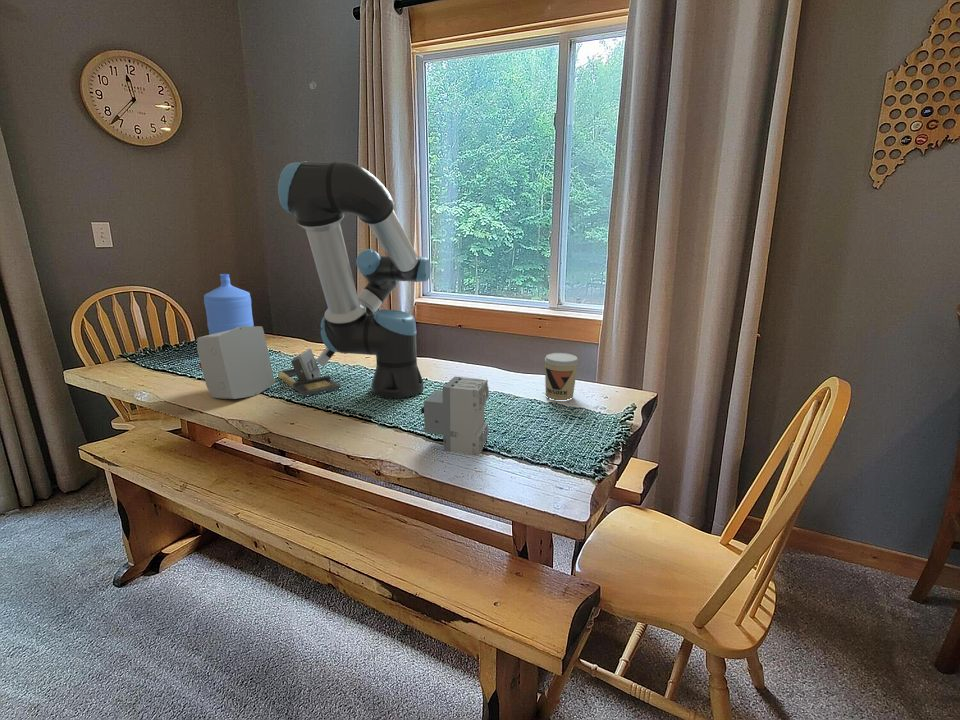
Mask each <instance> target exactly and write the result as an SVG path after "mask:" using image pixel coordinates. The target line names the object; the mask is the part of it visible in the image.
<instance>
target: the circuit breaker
mask: <svg viewBox="0 0 960 720" xmlns="http://www.w3.org/2000/svg"><path fill="white" fill-rule="evenodd" d="M488 381H489V380H488V379H482V378H475V377H474V378H473V377H467V376H465V377H464V376H453V378H451V379H450V380H449V381H448V382H446V383H445V384H444V385H443V386H442V389H436V390H434V392H433V393H431V394H430V395H429V396H428V397H427V398H426V399H425V400H424V401H423V407H421V409H420V410H421V412H420V414H422V415H423V420H424V421H423V422H424V423H423V425H424V428H423V429H424V433H425V434H427V433H428V434H434V435H439V436H440V435H441V436H442V437H443V438H442V440H443V442H442V446H443V447H442V449H443V451H446V452H451V453H452V452H453V453H459V454H464V455H465V454H466V455H472V456H473V455H476V456H479V455H480V454H481V453H482V451H483V449H484V448H483V444H484V442H486V440H488V437H489V423H488V422H486V421H485V405H486V404H487V400H488V399H489V397H490V396H489V395H490V394H489V391H490V390H489V386H488Z"/></svg>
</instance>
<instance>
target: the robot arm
mask: <svg viewBox="0 0 960 720" xmlns="http://www.w3.org/2000/svg"><path fill="white" fill-rule="evenodd" d="M277 193H278V198H279V203H280V205H281V207H282V209H283V210H284V211H285V212H286V213H289V214H294V216H295V219H296V220H295V221H296V223H297V226H300V228H303V229H305V232H306V235H307V239H308V242H309V245H310V249H311V252H312V257H313V260H314V264H315V268H316V271H317V274H318V279H319V281H320V282H319V283H320V285H321V289H322V292H323V295H324V300H325V302H326V305H327V309H326V310H325V311H324V315H323V317H322V318H321V322H320V336H321V340H322V343H323V344H324V346H325V348H324V349H323V350H322V352H321V353H320V354H319V356H318V357H317V358H315V360H316V363H317V364H319V365H320V366H322V367H324V368H325V366H326V365H327V363H328V362H329V361H330V359H331V358H332V357H334V354H335V353H340V354H344V355H347V354H351V355H352V354H353V355H354V354H355V355H356V354H357V355H368V356H375V359H376V368H375V370H374V374H373V377H372V381H371V393H372V394H373V395H374V394H375V395H374V396H376V395H377V396H376V397H378V396H380V397H379V398H382V397H384V399H391V398H398V399H406V398H405V397H407V398H411V397H410V396H412V397H414V395H415V396H417V395H416V394H418V395H420V394H421V393H423V391H424V380H423V378H422V375H421V371H420V368H419V366H418V359H417V358H418V357H417V355H418V354H417V353H418V352H417V351H418V350H417V347H418V346H417V332H418V331H417V326H416V324H417V323H416V319H415V317H414V316H413V315H412V314H410V313H408V312H406V311H401V310H397V309H385V308H384V309H380V307H381V305H382V304H383V303H384V301H385V300H386V299H387V297H388V296H389V295H390V294H391V293H392V291H393V290H394V289H395V288H396V287H397V285H398V284H399V282H414V283H420V282H421V283H425V282H428V281H429V279H430V277H431V272H432V271H431V270H432V269H431V268H432V267H431V261H430V259H429V258H428V257H425V256H418V254H417V252H416V250H415V248H414V247H413V244H412V243H411V240H410V238H409V237H408V235H407V233H406V231H405V229H404V227H403V226H402V223H401V221H400V220H399V218H398V216H397V214H396V212H395V210H394V209H395V202H394V200H393V197H392V195H391V194H390V192H389V190H388V189H387V187H385V185H384V184H383V183H382V182H381V181H380V180H379V178H377V177H376V176H375V175H374V174H372V173H371V172H370V171H369V170H367V169H365V168H364V167H363V166H360V165H358V164H356V163H353V162H350V161H305V160H304V161H301V162H299V161H298V162H291V163H288V164H287V165H286V166H285V167H284V168H283V169H282V170H281V173H280V175H279V180H278V185H277ZM345 214H351V215H355V216H358V218H359V220H360V221H361V222H362V223H364V224H366V225H368V227H369V228H370V230H371V231H372V233H373V234H374V236H375V237H376V239H377V241H378V242H379V244H380V245H381V247H382V248H383V250H384V251H385V253H386V255H380V254H379V253H378V252H377V251H376V250H374V249H371V248H368V249H364V250H362V251H361V252H360V253H359V254H357V256H356V258H355V264H356V267H357V268H358V270H359V272H360V274H361V275H362V276H363V278H365V280H366V281H367V284H366V286H365V287H364V288H363V289H362V290H361V291H360V293H359V294H358V293H357V288H356V284H355V281H354V275H353V272H352V268H351V264H350V260H349V255H348V250H347V247H346V246H347V245H346V244H345V243H346V242H345V239H344V234H343V229H342V226H341V222H342V220H343V219H344V218H345ZM420 392H421V393H420ZM419 393H420V394H419Z"/></svg>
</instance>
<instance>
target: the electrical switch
mask: <svg viewBox="0 0 960 720" xmlns="http://www.w3.org/2000/svg"><path fill="white" fill-rule="evenodd" d="M290 362H291V365H292V367H293V369H294V370H295V372H296V375H295V376H296V377H297V380H298V381H303V380H308V379H313V378H318V377H322V376H321V375H322V373H321V370H320V368H319V366H318V363H317V362H316V358H315V355H314V352H313V351H312V349H311V348H308V349H306V350H305V351H304V352H301V353H300V354H298V355H297V356H295V357H294V358H293V359H292V360H290ZM300 371H301V373H300Z"/></svg>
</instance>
